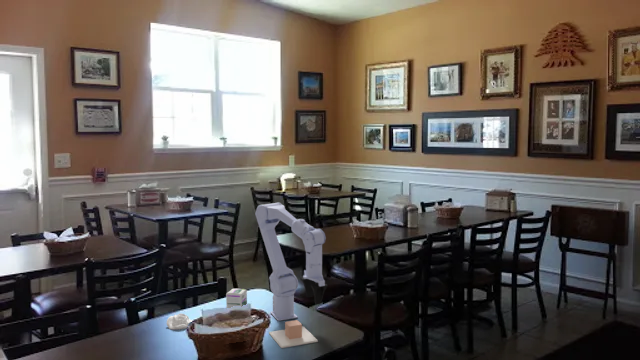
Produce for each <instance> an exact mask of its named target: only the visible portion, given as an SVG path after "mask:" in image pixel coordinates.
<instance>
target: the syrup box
mask: <svg viewBox="0 0 640 360" xmlns="http://www.w3.org/2000/svg"><path fill="white" fill-rule="evenodd" d="M247 294H248V293H247V289H246V288H231V290H228V292H226V294H225V297H226V300H225V302H226V309H227V308H231V307H233V306H241V307H242V306H243V305H246V304H247V305H248V298H247V297H248V295H247Z"/></svg>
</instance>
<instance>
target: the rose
mask: <svg viewBox="0 0 640 360" xmlns="http://www.w3.org/2000/svg"><path fill="white" fill-rule="evenodd" d="M192 321H194V319H193V320H192V319H191V318H190V317H189V316H188V315H187V314H185V313H178V314H174V315H170V316H169V317H168V318H167V320H166V326H167V328H168V329H169V330H184V329H188V327H187V326H188V324H189V323H190V322H192Z"/></svg>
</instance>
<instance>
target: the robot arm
mask: <svg viewBox="0 0 640 360" xmlns="http://www.w3.org/2000/svg"><path fill="white" fill-rule="evenodd" d="M285 207H286V206H285V205H283V204H282V203H281V202H279V201H278V202H275V203H274V202H272V203H265V204H258V205H257V207H256V209H255V218H256V222H257V224H258V228H259V230H260V233H261V237H262V240H263V242H264V243H263V244H264V246H265V250H266V253H267V255H268V258H269V259H268V260H269V261H270V265H271V269H272V273H271V274H270V275H269V278H268V279H269V283H270V285H269V287H270V291H271V292H272V294H273V295H272V311H270V314H271V315H272V316H273V317H274V318H275V320H277V321H278V322H280V321H286V320H291V319H297V318H298V316H297V314H295V305H294V304H295V303H294V302H295V299H294V298H295V297H294V296H295V293H296V290H297V289H298V288H299V280H298V278H297V276H296V275H295V273H294V270H293V269H291V268H290V267H288V266H287V263H286V260H285V258H284V254H283V252H282V249H281V246H280V242H279V238H278V235H277V233H276V229H275V228H276V226H277V225H278V224H279V222H280V221H281V222H282V223H284V224H286V225H287V226H289V227H291V232H292V233H294V234H295V235H296V236H297V237H298V238H300V239H301V240H302V243H303V245H304V251H305V269H304V270H303V275H302V277H301V278H300V279H301V281H302V283H303V286H304V289H305V295H306V298H312V297H313V298H314V299H313V300H314V303H315V305H319V304H322V301H323V297H324V294H325V292H326V290H327V288H328V284H327V283H326V280H325V279H324V276H323V245H324V244H325V243H326V239H327V237H326V233H325V231H323V230H322V229H321V228H315V227H314V226H312V225H311V224H308V222H306V220H305V219H304V218H299V219H297V218H296V217H295V216H293V214H292V213H290V212H289V211H288V210H286V208H285Z"/></svg>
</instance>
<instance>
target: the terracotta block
mask: <svg viewBox="0 0 640 360" xmlns="http://www.w3.org/2000/svg"><path fill="white" fill-rule="evenodd" d="M302 327H303V324H302V323H301V322H300V321H299V320H298V319H295V320H289V321H285V322H284V329H285V335H286V336H287V337H288V338H289V339H294V338H300V337H302Z"/></svg>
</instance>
